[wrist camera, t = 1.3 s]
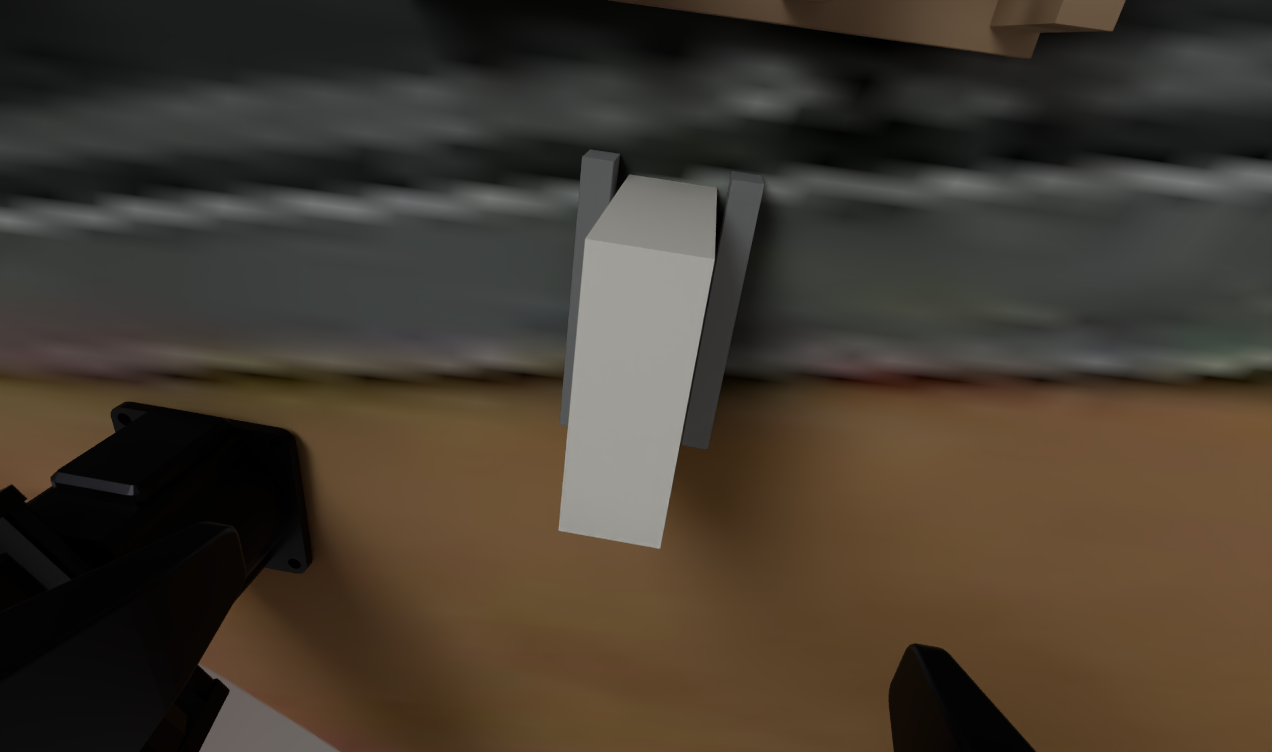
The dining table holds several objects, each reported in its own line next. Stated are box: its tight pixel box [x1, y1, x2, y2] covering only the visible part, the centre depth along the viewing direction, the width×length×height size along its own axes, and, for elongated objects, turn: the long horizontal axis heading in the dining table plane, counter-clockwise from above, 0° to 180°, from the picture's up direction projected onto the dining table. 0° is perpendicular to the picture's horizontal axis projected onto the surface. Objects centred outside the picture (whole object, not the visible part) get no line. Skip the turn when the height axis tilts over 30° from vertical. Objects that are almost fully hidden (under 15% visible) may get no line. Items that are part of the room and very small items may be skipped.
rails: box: [560, 150, 764, 450], centre depth 19 cm, size 8×5×1 cm, turn 173°
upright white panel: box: [559, 175, 717, 549], centre depth 16 cm, size 7×2×6 cm, turn 173°
